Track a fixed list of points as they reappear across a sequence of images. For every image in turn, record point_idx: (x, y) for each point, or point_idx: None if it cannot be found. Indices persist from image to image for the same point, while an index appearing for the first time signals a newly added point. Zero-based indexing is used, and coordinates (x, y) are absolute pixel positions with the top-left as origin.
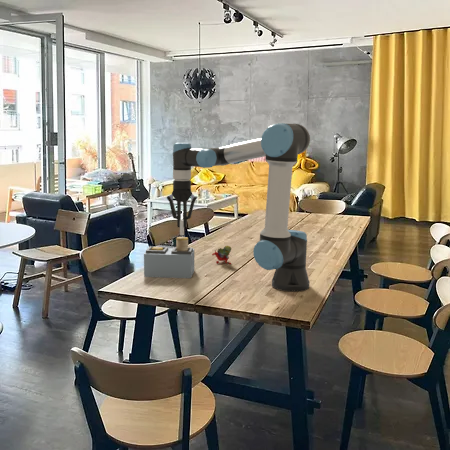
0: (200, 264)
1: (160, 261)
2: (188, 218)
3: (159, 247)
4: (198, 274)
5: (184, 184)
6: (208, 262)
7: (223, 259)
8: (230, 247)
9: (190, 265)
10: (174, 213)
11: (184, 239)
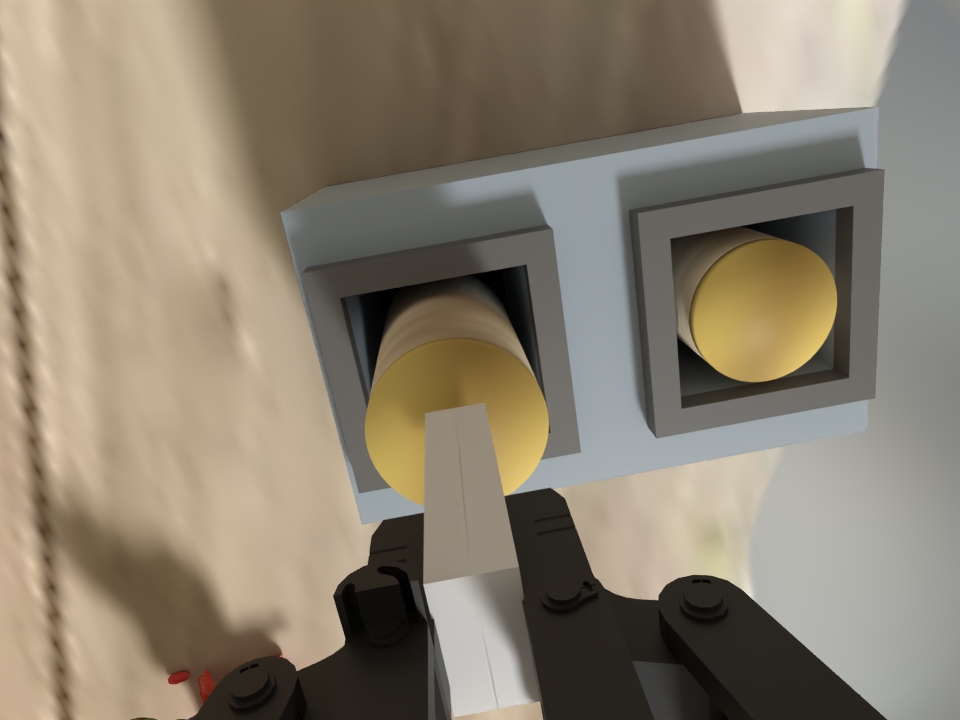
0: None
1: (641, 142)
2: (269, 660)
3: (747, 361)
4: (305, 324)
5: None
6: None
7: None
8: None
9: (308, 198)
10: (752, 694)
11: (395, 364)
